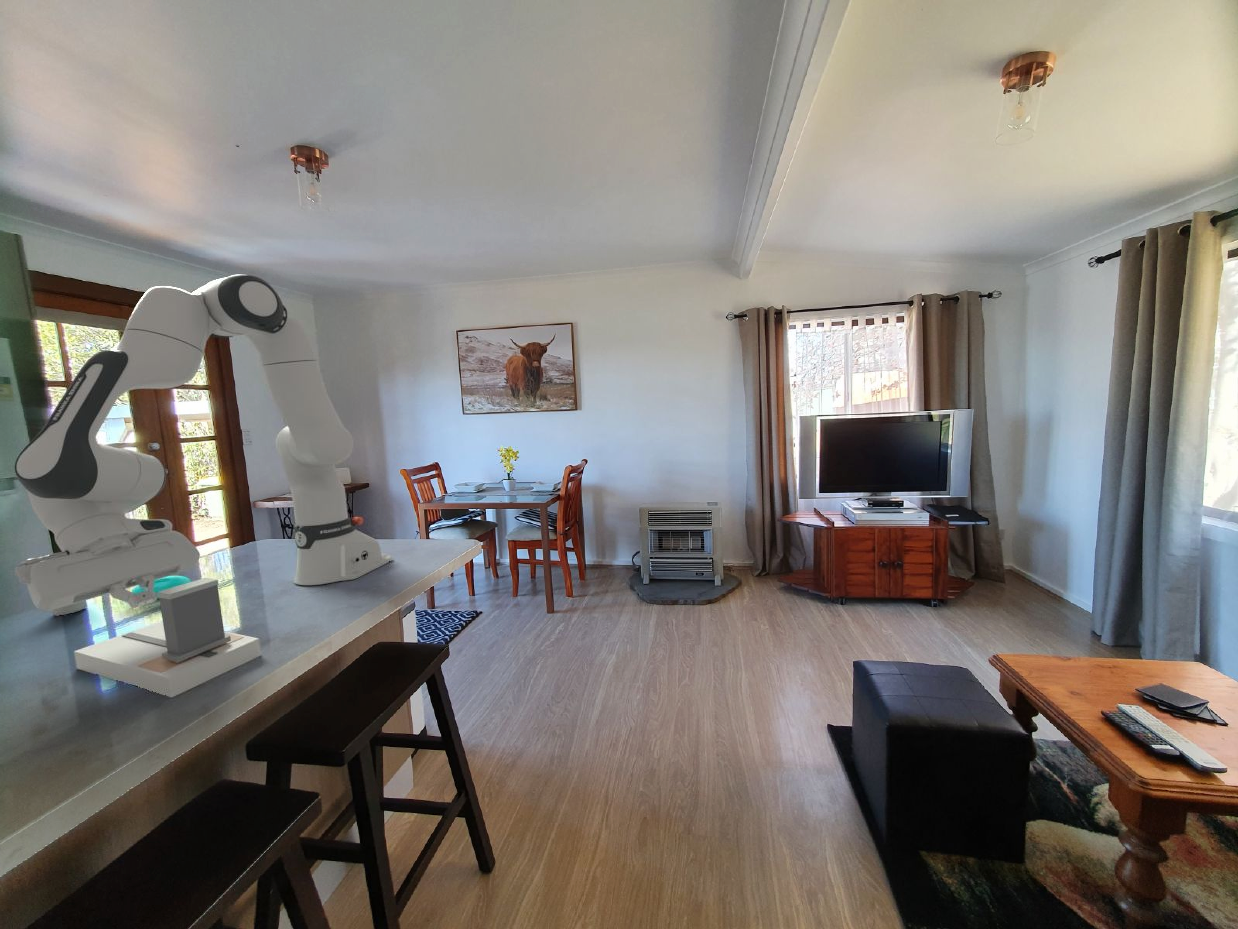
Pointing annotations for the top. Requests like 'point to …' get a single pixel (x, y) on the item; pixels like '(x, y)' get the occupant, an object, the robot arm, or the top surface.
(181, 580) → the donuts
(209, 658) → the fader console
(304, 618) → the top surface
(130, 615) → the top surface
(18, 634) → the top surface
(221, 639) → the fader knob
